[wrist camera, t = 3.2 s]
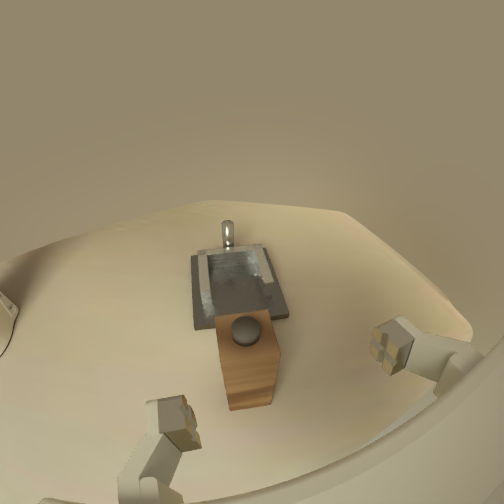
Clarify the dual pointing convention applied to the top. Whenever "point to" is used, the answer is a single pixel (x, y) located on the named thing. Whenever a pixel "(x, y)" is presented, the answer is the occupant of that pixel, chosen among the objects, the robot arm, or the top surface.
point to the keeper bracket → (234, 282)
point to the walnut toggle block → (248, 358)
